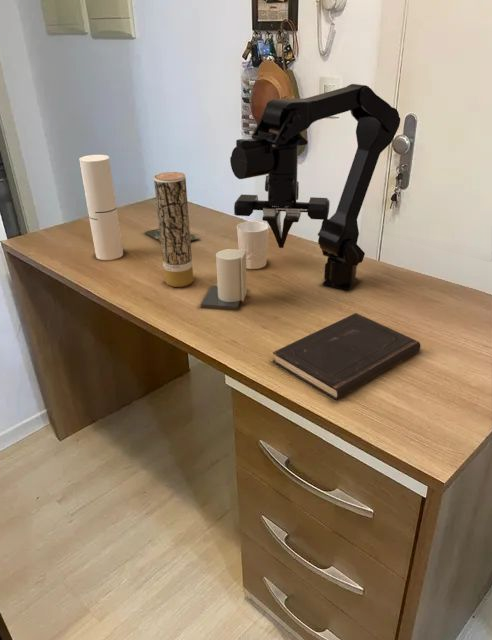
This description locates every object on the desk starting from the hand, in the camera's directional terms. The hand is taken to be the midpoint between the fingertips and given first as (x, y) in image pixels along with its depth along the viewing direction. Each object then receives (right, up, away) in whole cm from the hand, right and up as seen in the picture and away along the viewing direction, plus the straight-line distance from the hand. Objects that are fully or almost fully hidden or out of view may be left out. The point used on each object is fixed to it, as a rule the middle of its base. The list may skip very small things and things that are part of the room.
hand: (281, 247), depth 117 cm
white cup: (-6, +1, +26) cm, 26 cm away
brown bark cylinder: (-24, -5, +17) cm, 30 cm away
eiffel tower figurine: (-30, +12, +44) cm, 54 cm away
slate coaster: (-13, -10, +9) cm, 18 cm away
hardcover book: (+12, -23, -12) cm, 29 cm away
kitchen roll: (-11, -5, +6) cm, 13 cm away
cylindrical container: (-44, +4, +32) cm, 55 cm away
